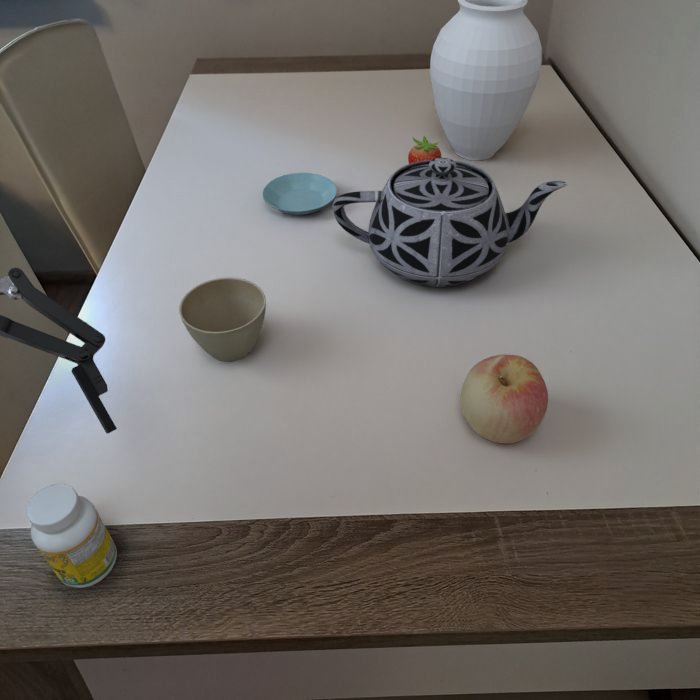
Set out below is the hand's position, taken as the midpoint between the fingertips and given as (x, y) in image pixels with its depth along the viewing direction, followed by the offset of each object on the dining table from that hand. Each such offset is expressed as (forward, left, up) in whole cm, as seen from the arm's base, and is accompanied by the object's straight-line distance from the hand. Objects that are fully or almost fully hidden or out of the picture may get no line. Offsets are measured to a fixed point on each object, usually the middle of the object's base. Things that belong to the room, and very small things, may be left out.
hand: (37, 471), depth 55 cm
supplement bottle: (+1, -4, -10) cm, 11 cm away
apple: (+44, -2, -10) cm, 45 cm away
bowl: (+19, +20, -10) cm, 30 cm away
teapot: (+51, +28, -10) cm, 59 cm away
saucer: (+36, +50, -10) cm, 63 cm away
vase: (+70, +56, -10) cm, 90 cm away
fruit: (+57, +49, -10) cm, 76 cm away
